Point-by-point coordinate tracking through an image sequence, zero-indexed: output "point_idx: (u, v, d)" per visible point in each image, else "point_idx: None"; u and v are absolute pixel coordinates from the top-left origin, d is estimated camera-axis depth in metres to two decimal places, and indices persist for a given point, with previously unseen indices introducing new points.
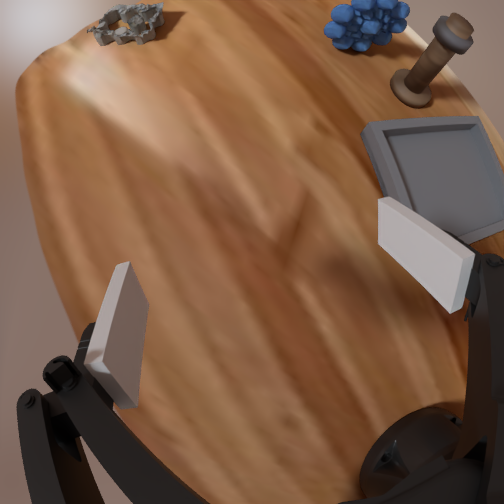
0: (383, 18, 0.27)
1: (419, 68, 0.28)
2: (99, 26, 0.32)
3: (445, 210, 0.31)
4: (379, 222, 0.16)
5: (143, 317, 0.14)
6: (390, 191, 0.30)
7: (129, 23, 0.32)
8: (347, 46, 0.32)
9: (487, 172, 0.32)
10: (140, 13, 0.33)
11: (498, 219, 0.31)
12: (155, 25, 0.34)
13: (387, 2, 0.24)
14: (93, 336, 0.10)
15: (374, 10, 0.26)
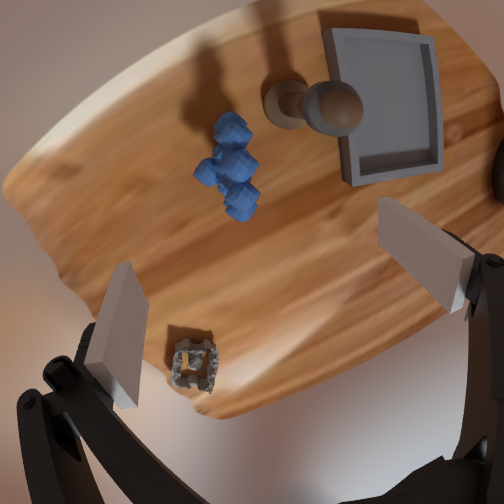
0: None
1: None
2: (194, 385, 0.50)
3: (411, 120, 0.35)
4: (379, 222, 0.16)
5: (143, 317, 0.14)
6: None
7: (200, 366, 0.47)
8: None
9: (381, 42, 0.30)
10: None
11: (419, 52, 0.31)
12: (191, 344, 0.47)
13: (253, 171, 0.26)
14: (93, 336, 0.10)
15: None
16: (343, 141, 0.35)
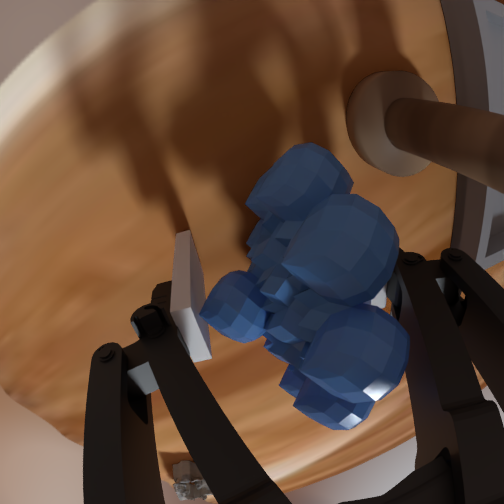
0: None
1: None
2: (210, 494, 0.32)
3: None
4: None
5: (202, 281, 0.16)
6: None
7: None
8: None
9: None
10: (185, 483, 0.29)
11: None
12: (193, 465, 0.29)
13: None
14: (172, 288, 0.11)
15: None
16: (470, 197, 0.17)
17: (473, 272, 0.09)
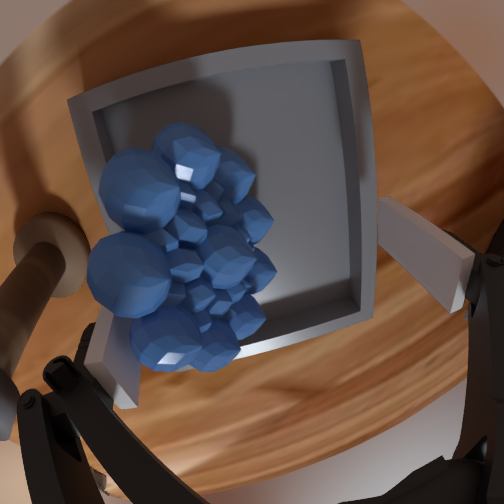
0: (193, 242, 0.11)
1: None
2: None
3: (304, 238, 0.21)
4: (379, 222, 0.16)
5: None
6: None
7: None
8: (272, 273, 0.17)
9: (217, 80, 0.15)
10: None
11: (330, 80, 0.16)
12: None
13: (147, 301, 0.09)
14: (93, 336, 0.10)
15: None
16: None
17: None
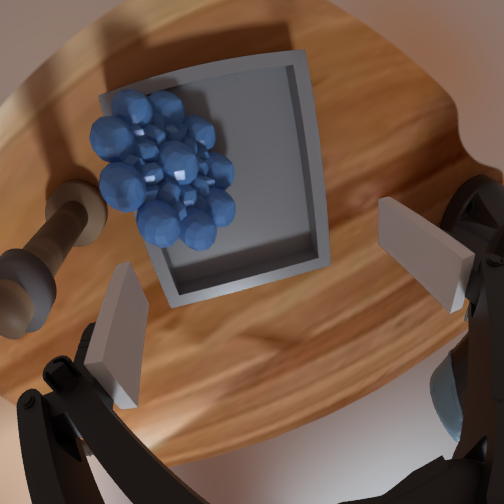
0: (155, 139, 0.18)
1: None
2: None
3: (269, 197, 0.27)
4: (379, 222, 0.16)
5: (143, 317, 0.14)
6: None
7: None
8: (229, 202, 0.22)
9: (203, 83, 0.21)
10: None
11: (285, 80, 0.22)
12: None
13: (112, 139, 0.15)
14: (93, 336, 0.10)
15: (139, 161, 0.17)
16: None
17: None
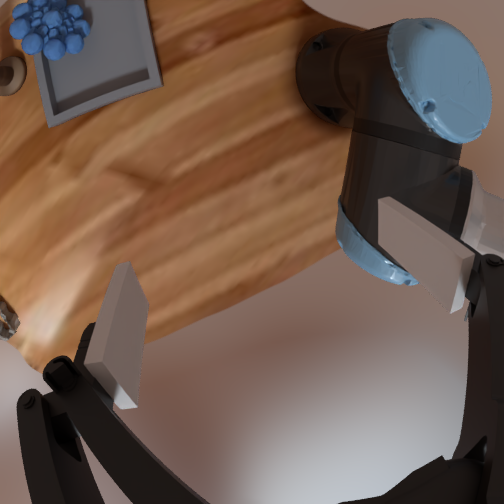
0: (43, 10, 0.20)
1: None
2: (13, 331, 0.45)
3: (118, 46, 0.30)
4: (379, 222, 0.16)
5: (143, 317, 0.14)
6: (102, 105, 0.32)
7: None
8: (76, 35, 0.24)
9: None
10: None
11: None
12: None
13: (20, 8, 0.18)
14: (93, 336, 0.10)
15: (30, 17, 0.19)
16: None
17: None
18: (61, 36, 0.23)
